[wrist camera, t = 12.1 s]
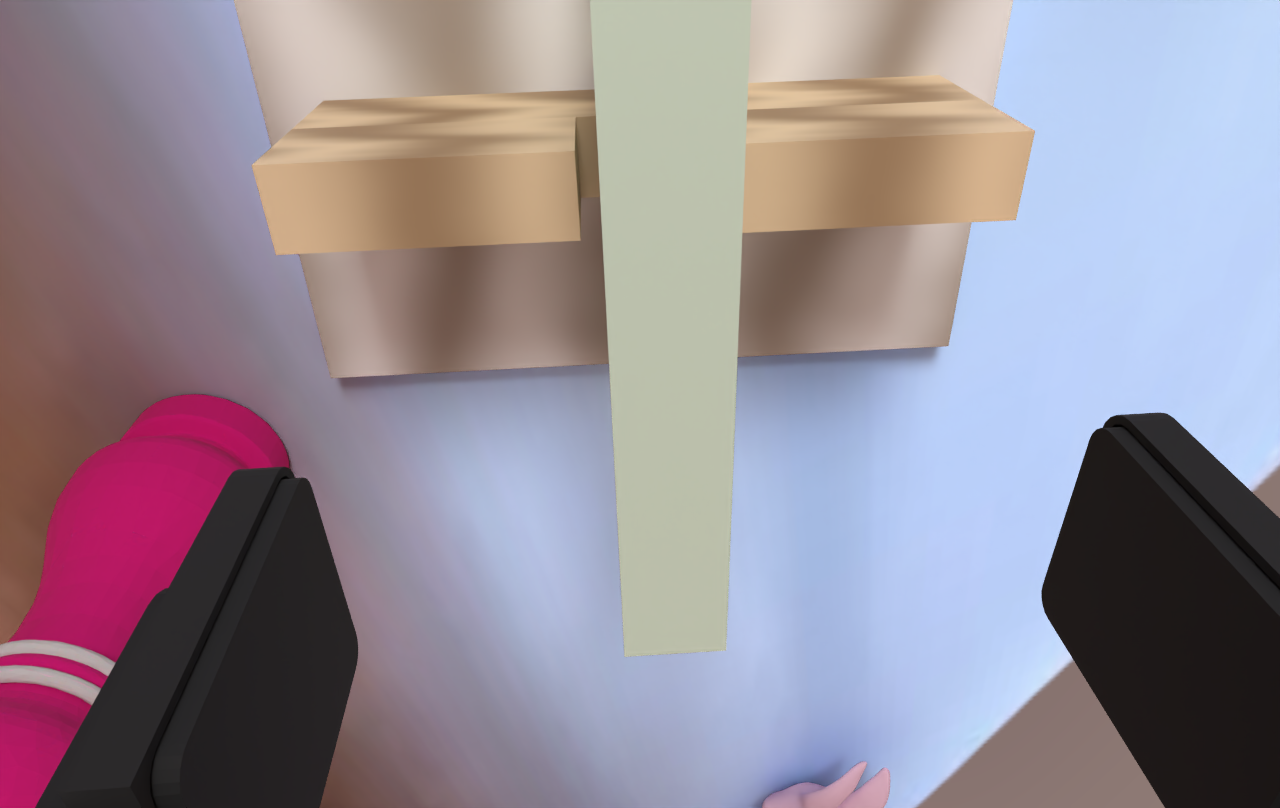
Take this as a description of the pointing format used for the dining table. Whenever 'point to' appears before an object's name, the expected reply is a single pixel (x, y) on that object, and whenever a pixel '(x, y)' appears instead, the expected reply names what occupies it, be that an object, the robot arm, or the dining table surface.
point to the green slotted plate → (672, 301)
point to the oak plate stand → (569, 174)
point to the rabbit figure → (836, 792)
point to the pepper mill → (113, 569)
